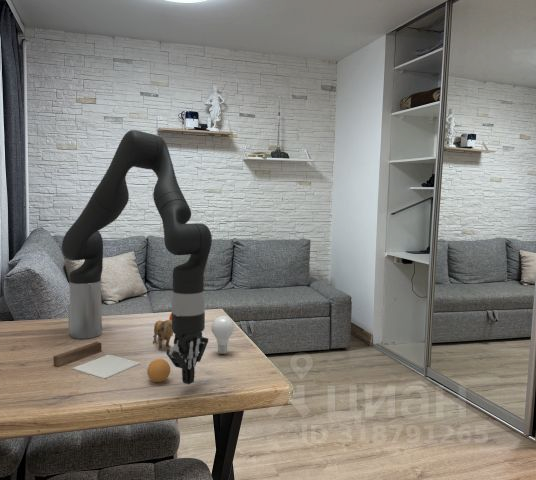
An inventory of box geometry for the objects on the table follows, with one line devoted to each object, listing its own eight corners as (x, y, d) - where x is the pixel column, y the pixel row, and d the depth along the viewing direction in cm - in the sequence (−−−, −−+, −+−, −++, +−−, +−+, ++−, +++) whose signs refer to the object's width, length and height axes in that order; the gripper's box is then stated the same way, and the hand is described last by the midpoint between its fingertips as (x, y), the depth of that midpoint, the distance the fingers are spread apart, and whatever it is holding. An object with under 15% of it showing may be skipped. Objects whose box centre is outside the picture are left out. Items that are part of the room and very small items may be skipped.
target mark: (72, 368, 122) (72, 368, 122) (108, 355, 132) (108, 354, 132) (104, 378, 116) (104, 378, 116) (140, 363, 126) (140, 363, 126)
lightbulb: (237, 352, 137) (238, 315, 136) (226, 359, 131) (227, 320, 130) (218, 348, 139) (219, 312, 138) (207, 355, 134) (207, 317, 132)
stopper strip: (53, 365, 124) (53, 356, 124) (96, 350, 136) (96, 341, 136) (58, 366, 123) (58, 357, 123) (101, 351, 135) (101, 342, 135)
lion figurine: (180, 350, 137) (180, 320, 136) (163, 354, 134) (162, 323, 133) (161, 337, 149) (161, 309, 148) (144, 339, 146) (144, 311, 145)
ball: (142, 382, 114) (142, 360, 114) (158, 375, 119) (158, 353, 119) (159, 387, 112) (159, 365, 111) (175, 379, 116) (175, 358, 116)
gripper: (193, 302, 117) (193, 370, 118) (155, 314, 105) (156, 389, 107) (218, 306, 113) (217, 376, 115) (182, 319, 101) (182, 396, 103)
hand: (188, 382), depth 111 cm, fingers closed
